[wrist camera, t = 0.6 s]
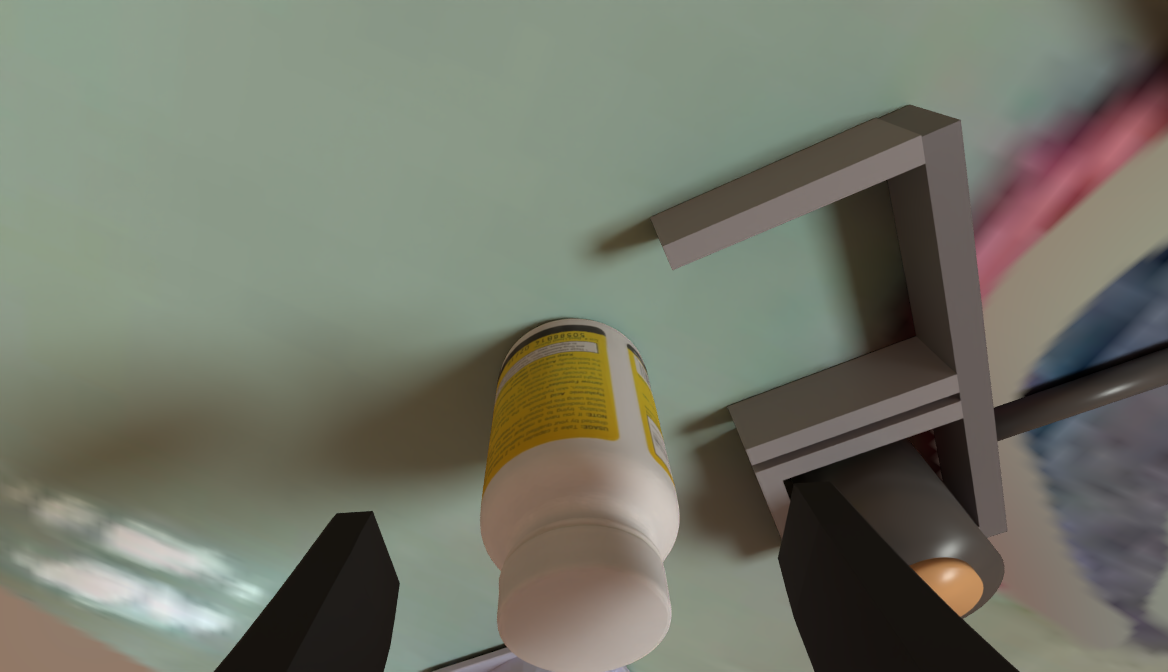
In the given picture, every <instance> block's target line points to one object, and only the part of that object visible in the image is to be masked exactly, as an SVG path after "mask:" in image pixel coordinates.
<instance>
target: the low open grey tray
mask: <svg viewBox="0 0 1168 672" xmlns="http://www.w3.org/2000/svg"><path fill="white" fill-rule="evenodd" d="M885 180H887V181H888V187H889V192H890V197H891V203H892V208H893V214H894V219H895V224H896V230H897V235H898V241H899V246H900V252H901V257H902V262H903V268H904V273H905V279H906V284H907V289H908V295H909V300H910V306H911V311H912V316H913V322H914V327H915V333H916V336H915V337H912V338H910V339H907V340H904V341H902V342H899V343H896V344H893V345H891V346H888V347H885V348H883V349H880V350H877V351H875V352H872V353H869V354H867V355H864V356H861V357H859V358H856V359H853V360H851V361H848V362H845V363H843V364H840V365H837V366H835V367H832V368H829V369H827V370H824V371H821V372H819V373H816V374H813V375H810V376H808V377H805V378H802V379H800V380H797V381H794V382H792V383H789V384H786V385H784V386H781V387H778V388H776V389H773V390H770V391H768V392H765V393H762V394H760V395H757V396H754V397H752V398H749V399H746V400H744V401H741V402H738V403H736V404H733V405H730V406H727V407H728V409H729V412H730V414H731V417H732V419H733V421H734V424H735V426H736V429H737V431H738V434H739V436H740V439H741V441H742V443H743V446H744V448H745V451H746V453H747V456H748V458H749V461H750V463H751V465H752V468H753V470H754V473H755V475H756V478H757V480H758V483H759V485H760V488H761V490H762V492H763V495H764V497H765V500H766V502H767V505H768V507H769V510H770V512H771V514H772V517H773V519H774V522H775V524H776V527H777V529H778V532H779V534H780V536H781V539H782V537H783V532H784V528H785V523H786V519H787V514H788V509H789V505H790V499H789V496H788V494H787V491H786V488H785V486H784V483H783V480H785V479H788V478H791V480H792V483H793V485H794V483H809V482H825V481H830V482H831V483H832V484H833V485H835V487H836V488H837V489H838V490H839V491H840V492H841V493H842V494H843V495H844V496H845V497H846V499H847V500H848V501H849V502H850V503H851V504H852V505H853V506H854V507H855V508H856V510H857V511H858V512H859V513H860V514H861V515H862V516H863V517H864V518H865V519H866V520H867V522H868V523H869V524H870V525H871V526H872V527H873V528H874V529H875V530H876V531H877V532H878V533H879V534H880V536H881V537H882V538H883V539H884V540H885V541H886V542H887V543H888V544H889V545H890V546H891V547H892V548H893V549H894V550H895V552H896V553H897V554H898V555H899V556H900V557H901V558H902V559H903V560H904V561H905V562H906V563H907V564H908V565H909V566H910V567H911V568H912V569H913V570H914V571H915V572H916V573H917V574H918V575H919V576H920V577H921V578H922V579H923V580H924V581H925V582H926V583H927V584H928V585H929V586H930V587H931V588H932V589H933V590H934V591H935V592H936V593H937V594H938V595H939V596H940V597H941V598H942V599H943V600H944V601H945V602H946V603H947V604H948V605H949V606H950V607H951V608H952V609H953V610H954V611H955V612H956V613H957V614H958V615H959V616H960V617H961V618H962V619H963V618H965V617H967V616H968V615H970V614H972V613H973V612H975V611H976V610H978V609H979V608H980V607H982V606H983V605H984V604H985V603H986V602H987V601H988V600H989V599H990V598H991V597H992V596H993V595H994V594H995V592H996V591H997V589H998V588H999V586H1000V584H1001V582H1002V579H1003V576H1004V563H1003V559H1002V557H1001V555H1000V554H999V553H998V551H997V550H996V549H995V548H994V546H993V545H992V544H991V543H990V541H989V540H988V539H987V538H988V537H991V536H994V535H998V534H1000V533H1004V532H1007V523H1006V514H1005V505H1004V498H1003V497H1004V496H1003V487H1002V479H1001V470H1000V461H999V452H998V444H997V441H1000V440H1003V439H1006V438H1009V437H1012V436H1015V435H1018V434H1021V433H1024V432H1026V431H1029V430H1032V429H1035V428H1038V427H1041V426H1044V425H1047V424H1050V423H1053V422H1056V421H1059V420H1062V419H1065V418H1068V417H1071V416H1074V415H1077V414H1080V413H1083V412H1086V411H1089V410H1092V409H1095V408H1098V407H1101V406H1104V405H1107V404H1110V403H1113V402H1116V401H1119V400H1122V399H1125V398H1128V397H1131V396H1134V395H1137V394H1140V393H1143V392H1146V391H1149V390H1152V389H1155V388H1158V387H1161V386H1164V385H1167V384H1168V348H1166V349H1163V350H1160V351H1157V352H1154V353H1151V354H1148V355H1145V356H1142V357H1139V358H1137V359H1134V360H1131V361H1128V362H1125V363H1122V364H1119V365H1116V366H1113V367H1110V368H1108V369H1105V370H1102V371H1099V372H1096V373H1093V374H1090V375H1087V376H1084V377H1081V378H1079V379H1076V380H1073V381H1070V382H1067V383H1064V384H1061V385H1058V386H1055V387H1053V388H1050V389H1047V390H1044V391H1041V392H1038V393H1035V394H1032V395H1029V396H1026V397H1024V398H1021V399H1018V400H1015V401H1012V402H1009V403H1006V404H1003V405H1000V406H997V407H995V408H993V399H992V391H991V382H990V373H989V364H988V355H987V347H986V338H985V329H984V320H983V311H982V302H981V294H980V285H979V276H978V267H977V258H976V250H975V241H974V232H973V223H972V214H971V206H970V197H969V188H968V179H967V170H966V162H965V153H964V144H963V135H962V126H961V120H959V119H956V118H952V117H949V116H946V115H943V114H939V113H936V112H933V111H929V110H926V109H923V108H920V107H916V106H913V105H908V106H906V107H903V108H901V109H899V110H896V111H894V112H892V113H890V114H887V115H885V116H883V117H881V118H878V119H877V118H874V119H872V120H870V121H868V122H865V123H863V124H861V125H859V126H856V127H854V128H852V129H849V130H847V131H845V132H843V133H840V134H838V135H836V136H834V137H831V138H829V139H827V140H825V141H822V142H820V143H818V144H815V145H813V146H811V147H809V148H806V149H804V150H802V151H800V152H797V153H795V154H793V155H791V156H788V157H786V158H784V159H782V160H779V161H777V162H775V163H772V164H770V165H768V166H766V167H763V168H761V169H759V170H757V171H754V172H752V173H750V174H748V175H745V176H743V177H741V178H738V179H736V180H734V181H732V182H729V183H727V184H725V185H723V186H720V187H718V188H716V189H714V190H711V191H709V192H707V193H705V194H702V195H700V196H698V197H695V198H693V199H691V200H689V201H686V202H684V203H682V204H680V205H677V206H675V207H673V208H671V209H668V210H666V211H664V212H661V213H659V214H657V215H655V216H652V217H650V218H651V221H652V223H653V226H654V228H655V231H656V233H657V236H658V238H659V240H660V243H661V245H662V247H663V250H664V252H665V254H666V257H667V259H668V261H669V263H670V266H671V268H672V270H674V269H677V268H679V267H681V266H684V265H686V264H688V263H691V262H693V261H696V260H698V259H700V258H703V257H705V256H707V255H710V254H712V253H714V252H717V251H719V250H722V249H724V248H726V247H729V246H731V245H733V244H736V243H738V242H741V241H743V240H745V239H748V238H750V237H752V236H755V235H757V234H759V233H762V232H764V231H767V230H769V229H771V228H774V227H776V226H778V225H781V224H783V223H786V222H788V221H790V220H793V219H795V218H797V217H800V216H802V215H805V214H807V213H809V212H812V211H814V210H816V209H819V208H821V207H823V206H826V205H828V204H831V203H833V202H835V201H838V200H840V199H842V198H845V197H847V196H850V195H852V194H854V193H857V192H859V191H861V190H864V189H866V188H868V187H871V186H873V185H876V184H878V183H880V182H883V181H885ZM930 429H933V430H934V436H935V441H936V446H937V452H938V457H939V463H940V468H941V473H942V479H943V481H941V480H940V479H939V478H938V476H937V475H936V474H935V473H934V471H933V470H932V469H931V468H930V466H929V465H928V464H927V462H926V461H925V460H924V459H923V457H922V456H921V455H920V454H919V452H918V451H917V450H916V449H915V447H914V446H913V445H912V444H911V442H910V441H909V440H908V439H907V437H910V436H913V435H916V434H919V433H922V432H924V431H927V430H930Z"/></svg>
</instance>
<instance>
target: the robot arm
mask: <svg viewBox="0 0 1168 672" xmlns="http://www.w3.org/2000/svg"><path fill="white" fill-rule="evenodd" d="M778 560H779V564H780V568H781V572H782V576H783V580H784V583H785V587H786V591H787V595H788V598H789V602H790V605H791V609H792V612H793V616H794V619H795V622H796V624H797V627H798V630H799V632H800V635H801V638H802V640H803V643H804V645H805V648H806V651H807V653H808V656H809V658H810V661H811V663H812V666H813V669H814V671H815V672H1019V671H1018V670H1017V669H1016V668H1015V667H1014V666H1013V665H1012V664H1010V663H1009V662H1008V661H1007V660H1006V659H1005V658H1004V657H1003V656H1002V655H1001V654H999V653H998V652H997V651H996V650H995V649H994V648H993V647H992V646H991V645H990V644H989V643H988V642H987V641H985V640H984V639H983V638H982V637H981V636H980V635H979V634H978V633H977V632H976V631H975V630H974V629H973V628H971V627H970V626H969V625H968V624H967V623H966V622H965V621H964V620H963V619H962V618H961V617H960V616H959V615H958V614H957V613H956V612H955V611H954V610H953V609H952V608H951V607H950V606H949V605H948V604H947V603H946V602H945V601H944V600H943V599H942V598H941V597H940V596H939V595H938V594H937V593H936V592H935V591H934V590H933V589H932V588H931V587H930V586H929V585H928V584H927V583H926V582H925V581H924V580H923V579H922V578H921V577H920V576H919V575H918V574H917V573H916V572H915V571H914V570H913V569H912V568H911V567H910V566H909V565H908V564H907V563H906V562H905V561H904V560H903V559H902V558H901V557H900V556H899V555H898V554H897V553H896V552H895V550H894V549H893V548H892V547H891V546H890V545H889V544H888V543H887V542H886V541H885V540H884V539H883V538H882V537H881V536H880V534H879V533H878V532H877V531H876V530H875V529H874V528H873V527H872V526H871V525H870V524H869V523H868V522H867V520H866V519H865V518H864V517H863V516H862V515H861V514H860V513H859V512H858V511H857V510H856V508H855V507H854V506H853V505H852V504H851V503H850V502H849V501H848V500H847V499H846V497H845V496H844V495H843V494H842V493H841V492H840V491H839V490H838V489H837V488H836V487H835V485H833V484H832V483H831V482H830V481H825V482H809V483H794V486H793V491H792V496H791V500H790V505H789V509H788V514H787V519H786V523H785V528H784V532H783V537H782V542H781V546H780V551H779V555H778ZM399 585H400V583H399V580H398V577H397V575H396V572H395V569H394V567H393V564H392V561H391V559H390V556H389V553H388V551H387V548H386V545H385V543H384V540H383V537H382V535H381V532H380V529H379V527H378V524H377V521H376V519H375V516H374V513H373V511H366V512H351V513H337V514H336V515H335V516H334V517H333V518H332V519H331V521H330V522H329V523H328V525H327V526H326V527H325V529H324V530H323V532H322V533H321V534H320V536H319V537H318V538H317V540H316V541H315V542H314V544H313V545H312V546H311V548H310V549H309V551H308V552H307V553H306V555H305V556H304V557H303V559H302V560H301V561H300V563H299V564H298V565H297V567H296V568H295V569H294V571H293V572H292V573H291V575H290V576H289V577H288V579H287V580H286V581H285V583H284V584H283V585H282V587H281V588H280V589H279V591H278V592H277V593H276V595H275V596H274V597H273V599H272V600H271V601H270V602H269V604H268V605H267V606H266V607H265V609H264V610H263V611H262V613H261V614H260V615H259V616H258V618H257V619H256V620H255V621H254V623H253V624H252V625H251V627H250V628H249V629H248V630H247V632H246V633H245V634H244V636H243V637H242V638H241V639H240V641H239V642H238V643H237V644H236V646H235V647H234V648H233V649H232V650H231V652H230V653H229V654H228V655H227V657H226V658H225V659H224V660H223V661H222V662H221V664H220V665H219V666H218V667H217V668H216V670H215V671H214V672H384V668H385V665H386V661H387V657H388V653H389V649H390V645H391V639H392V632H393V626H394V620H395V613H396V606H397V599H398V592H399ZM432 672H554V671H549V670H545V669H542V668H539V667H537V666H534V665H532V664H530V663H527V662H525V661H524V660H522V659H520V658H519V657H517V656H516V655H515V654H514V653H512V652H511V651H510V650H509V649H508V647H507V648H503V649H500V650H497V651H494V652H491V653H488V654H485V655H482V656H479V657H475V658H472V659H469V660H466V661H463V662H460V663H457V664H454V665H451V666H447V667H444V668H441V669H438V670H435V671H432ZM604 672H630V671H629V670H628V668H627V667H626V666H623V667H620V668H617V669H614V670H609V671H604Z"/></svg>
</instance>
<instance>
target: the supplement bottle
mask: <svg viewBox="0 0 1168 672" xmlns="http://www.w3.org/2000/svg"><path fill="white" fill-rule="evenodd" d="M679 517H680V514H679V505H678V500H677V494H676V490H675V485H674V482H673V477H672V473H671V469H670V465H669V461H668V457H667V452H666V448H665V444H664V440H663V436H662V432H661V428H660V423H659V419H658V415H657V411H656V406H655V403H654V399H653V395H652V390H651V387H650V382H649V378H648V374H647V370H646V367H645V364H644V362H643V359H642V357H641V355H640V353H639V351H638V350H637V348H636V347H635V346H634V344H633V343H632V342H631V341H630V340H629V339H628V338H627V337H626V336H624V335H623V334H622V333H621V332H619V331H617V330H616V329H614V328H612V327H610V326H608V325H605V324H603V323H600V322H596V321H592V320H587V319H562V320H556V321H552V322H548V323H545V324H543V325H540V326H538V327H536V328H534V329H533V330H531V331H529V332H528V333H526V334H525V335H524V336H522V337H521V338H520V339H519V340H518V341H517V342H516V343H515V344H514V345H513V347H512V348H511V349H510V351H509V352H508V354H507V356H506V358H505V360H504V362H503V364H502V367H501V371H500V374H499V378H498V383H497V390H496V398H495V405H494V413H493V421H492V428H491V435H490V442H489V449H488V457H487V464H486V471H485V479H484V486H483V494H482V502H481V514H480V527H481V535H482V539H483V543H484V545H485V548H486V550H487V553H488V554H489V556H490V558H491V559H492V561H493V562H494V563H495V565H496V566H497V567H498V568H499V569H500V570H501V574H500V578H499V600H498V612H497V624H498V631H499V634H500V636H501V638H502V640H503V642H504V644H505V645H506V646H507V647H508V649H509V650H510V651H511V652H512V653H514V654H515V655H516V656H517V657H519V658H520V659H522V660H524V661H525V662H527V663H530V664H532V665H534V666H537V667H539V668H542V669H545V670H549V671H554V672H604V671H609V670H614V669H617V668H620V667H623V666H626V665H628V664H631V663H633V662H635V661H637V660H639V659H641V658H642V657H644V656H645V655H647V654H648V653H650V652H651V651H652V650H653V649H655V648H656V646H657V645H658V644H659V643H660V642H661V641H662V640H663V638H664V637H665V635H666V634H667V631H668V629H669V626H670V622H671V603H670V598H669V591H668V585H667V579H666V574H665V569H664V566H663V561H664V560H665V559H666V557H667V556H668V554H669V552H670V551H671V549H672V547H673V545H674V543H675V540H676V537H677V534H678V529H679Z"/></svg>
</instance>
